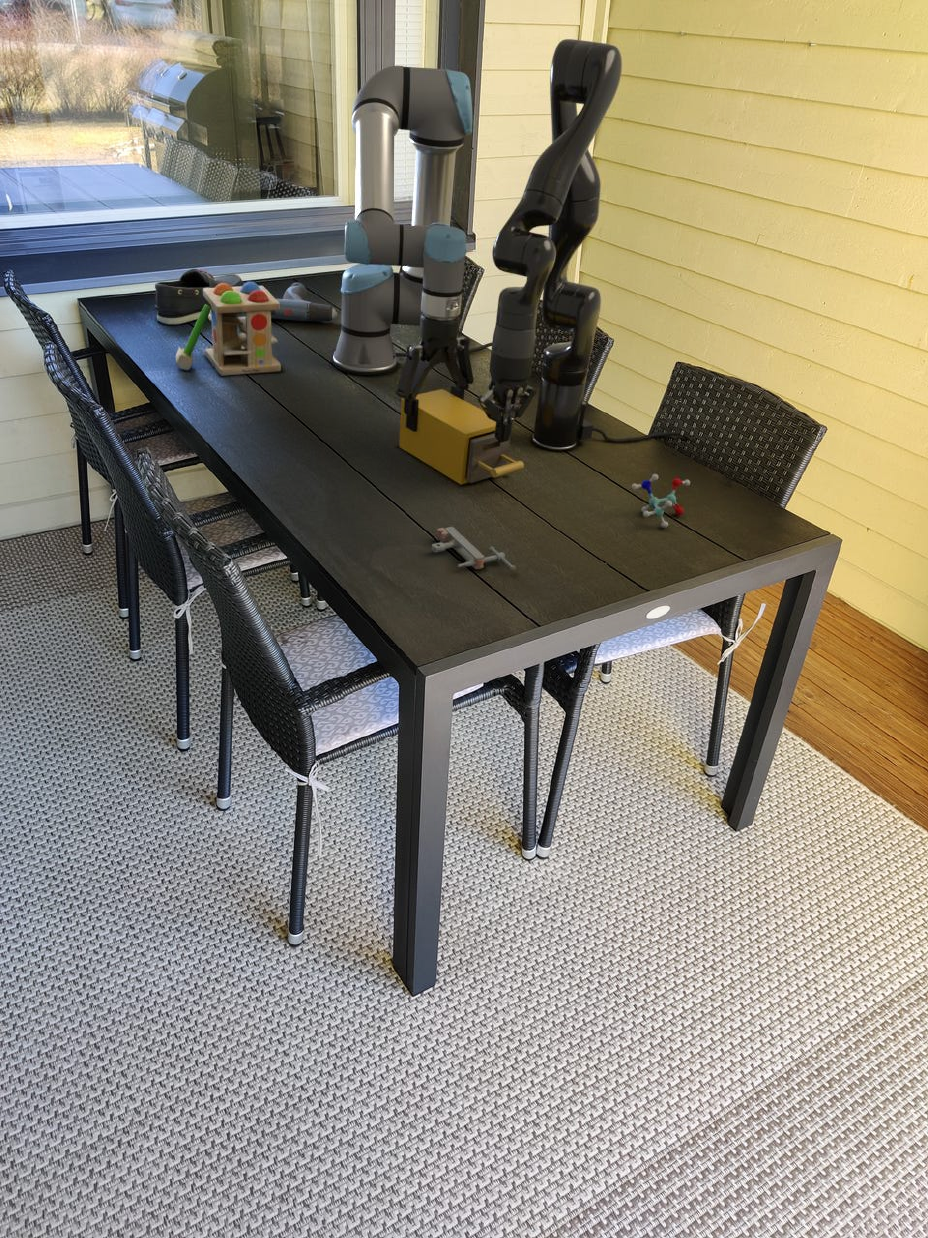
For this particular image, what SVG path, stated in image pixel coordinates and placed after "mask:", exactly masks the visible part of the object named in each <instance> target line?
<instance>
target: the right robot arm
mask: <svg viewBox="0 0 928 1238" xmlns="http://www.w3.org/2000/svg"><path fill="white" fill-rule="evenodd" d="M622 59H623V58H622V54H621V51H620V49H619V48H618V47H617V46H615V45H613V44H609V43H604V42H597V41H591V40H582V39H573V38H567V39H565V38H564V39H562V40H561V41H559V42H558V44H557V45H556V47H555V49H554V52H553V55H552V59H551V64H550V74H549V97H550V98H549V99H550V100H549V101H550V119H551V120H550V123H551V144H550V145H549V146H547V148H546V149H544V151H543V152H542V153H541V154H540V155H539V156H538V158H537V159H536V161H535V162H534V164H533V167H532V168H531V170H530V173H529V176H528V180H527V182H526V184H525V188H524V191H523V193H522V196H521V199H520V201H519V202H518V204H517V205H516V207H515V208H514V210H513V212H512V213H511V214H510V216H509V217H508V219H507V221H506V222H505V223H504V224H503V226H502V228H501V229H500V231H499V232H498V234H497V235H496V238H495V240H494V242H493V246H492V261H493V264H494V266H495V267H496V269H498V270H499V271H501V272H503V273H508V274H512V275H517V276H521V277H526V280H525V284H524V285H523V286H507V287H505V288H503V289H502V290H501V291H500V292H499V294H498V299H497V300H498V301H497V309H496V319H495V326H494V330H493V333H492V341H491V342H492V346H491V353H490V360H489V361H490V362H489V370H488V371H489V375H490V377H491V379H490V382H489V385H488V391H487V392H486V393H485V394H484V395H482V394H481V395H478V396H477V402H478V404H479V405H480V407H481V409H482V410H483V411H484V412H485V413H486V415H487V417H488V418H489V419H491V420H493V421H495V422H496V427H495V438H496V440H498V441H500V442H506V441H509V437H510V438H511V435H512V428H513V423H514V422H515V420H516V419H517V418H518V419H520V418H521V417H522V416H523V414H525V411H526V410H527V408H528V407H529V405H530V403H531V402H532V400H533V399H534V397H535V396H536V394H537V390H536V389H535V388H533V387H532V386H530V385H529V379H530V378H531V375H532V370H533V369H532V368H533V361H534V354H535V346H536V328H537V327H536V326H537V319H538V312H539V306H540V301H541V297H542V301H541V316H542V317H541V318H542V321H543V323H544V324H545V325H546V326H548V327H550V328H552V329H556V330H559V331H564V332H567V333H571V334H573V335H572V339H571V340H570V341H567V342H558V343H554V344H551V345H549V346H547V347H546V348H545V350H544V353H543V360H542V361H543V362H542V368H541V377H540V384H539V391H538V397H537V398H538V399H537V404H536V405H537V406H536V414H535V415H534V417H535V419H534V429H533V434H532V442H533V443H534V444H535V445H536V446H538V447H540V448H542V449H545V450H547V451H548V450H549V451H554V452H555V451H556V452H564V451H570V450H572V449H575V448H576V446H580V444H581V441H583V440H589V439H592V435H593V432H596V433H598V434H601V436H602V437H603V439H605V440H606V441H607V442H608V441H609V442H611V443H615V444H616V443H618V444H621V443H629V442H637V441H644V440H647V439H651V438H657V437H658V438H659V437H660V438H661V437H669V436H680V437H683V438H685V439H686V440H687V441H688V442H692V441H693V439H692V438H691V437H690V435H688V436H681V435H680V434H679V432H680V431H668V432H655V433H650V434H646V435H642V436H636V437H635V436H634V437H627V438H613V437H609V436H608V435H607V434H606V431H604V430H602V429H601V428H598V427H595V426H594V424H593V423H592V422H589V421H588V420H586V419H585V414H586V408H587V402H586V401H585V400H584V397H585V390H586V384H587V383H586V382H587V377H588V371H589V365H590V359H591V355H592V351H593V347H594V342H595V336H596V331H597V327H598V323H599V318H600V315H601V314H600V313H601V306H602V295H601V291H600V290H599V288H596V287H594V286H591V285H586V284H582V283H577V282H572V281H569V280H568V270H569V266H570V262H571V260H572V259H573V256H574V255H575V253H576V252H577V250H578V249H579V248H580V246H581V245H582V244H583V243H584V242H585V240H586V239H587V238H588V237H589V235H590V234H591V232H592V231H593V229H594V228H595V226H596V224H597V222H598V220H599V215H600V204H601V203H600V202H601V189H602V188H601V187H602V183H601V177H600V173H599V170H598V167H597V165H596V163H595V161H594V158H593V157H592V154H591V152H590V150H589V148H590V145H591V143H592V142H593V140H594V138H595V136H596V134H597V132H598V130H599V128H600V127H601V124H602V122H603V120H604V118H605V117H606V115H607V113H608V111H609V109H610V107H611V104H612V103H613V100H614V99H615V96H616V95H617V92H618V88H619V85H620V82H621V78H622V71H623V60H622ZM577 105H582V108H581V109H580V111H579V112H578V106H577ZM547 226H548V235H545V234H542V233H535V232H531V231H532V230H533V229H534V228H538V227H547ZM509 442H510V441H509Z"/></svg>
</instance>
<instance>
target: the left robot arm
mask: <svg viewBox="0 0 928 1238" xmlns="http://www.w3.org/2000/svg"><path fill="white" fill-rule="evenodd" d="M472 101H473V100H472V89H471V82H470V79H469V77H468V75H467V74H466V73H465V72H462V71H457V70H452V69H448V68H433V67H419V66H418V67H417V66H404V65H391V66H387V67H384V68H382V69H380V70H378V71H377V72H375V73H374V74H372V75H371V76H370V77H369V78H368V79H367V80H366V81H365V82H364V84H363V85H362V86H361V88H360V89H359V91H358V93H357V94H356V97H355V100H354V101H353V106H352V110H351V127H352V130H353V132H354V133H355V135H356V144H355V145H356V147H355V148H356V149H355V151H356V152H355V153H356V154H355V157H356V158H355V204H354V205H355V208H354V220H349V221H347V222H346V223H345V226H344V258H345V260H346V261H347V262H349V263H352V264H355V265H352V266H351V267H348V268H346V269H345V271H344V272H343V274H342V281H341V287H340V293H341V319H340V321H341V324H340V325H341V326H340V329H341V330H340V336H339V338H338V341H337V344H336V346H335V347H334V348H333V351H332V353H333V361H332V362H333V363H332V364H333V366H334V367H335V368H337V369H338V370H339V371H342V372H344V373H347V374H352V375H356V376H380V375H381V376H382V375H386V374H389V373H391V372H393V371H395V369H396V368H397V361H398V359H397V357H398V358H405V360H404V361H405V362H404V365H403V367H402V372H401V374H400V379H399V381H398V385H397V388H396V392H395V394H396V395H397V396H398V397H400V398H401V399H402V398H404V399H405V403H404V412H405V414H406V428H408V429H410V430H412V431H413V432H416V431H417V422H418V405H419V400H418V399H416V396H417V395H418V394H419V392H420V391H421V389H422V386H423V385H424V383H425V380H426V379H427V377H428V375H429V373H430V371H432V370H433V368H434V367H435V366H437V365H439V364H445V367H446V369H447V371H448V373H449V375H450V377H451V379H452V381H453V384H454V385H450V393H451V394H453V395H454V396H456V397H458V398H460V399H462V400H464V401H465V391H468V390H469V388H470V385H472V384H473V383H474V382H475V381H474V376H473V369H472V368H473V367H472V364H471V357H470V354H471V353H475V352H479V351H483V350H484V349H487V348H490V347H492V341H491V342H488V343H485V344H483V345H480V346H477V347H472V348H470V339H469V338H467V337H465V336H463V335H460V328H461V327H460V325H461V318H460V315H461V312H462V310H461V309H462V301H463V300H462V299H463V284H464V273H465V263H466V262H465V261H466V255H467V235H466V232H465V231H464V230H463V229H461V228H458V227H456V226H451V214H452V201H453V190H454V180H455V179H454V177H455V166H456V165H455V164H456V154H457V151H459V149H460V148H461V147H463V146H464V143H465V137H469V136H470V135H472V132H473V104H472ZM399 130H401V131H409V136H408V140H409V141H410V143H411V144H412V145H413V146H414V148H415V155H414V156H415V157H414V172H413V173H414V175H413V190H412V191H413V193H412V197H413V198H412V211H411V212H412V213H411V224H399V223H398V224H397V223H395V136H396V135H397V134H398V132H399ZM393 267H402V268H401V269H402V270H401V271H402V272H394V268H393ZM391 325H397V326H398V325H401V326H416V327H419V333H420V336H421V340H420V342H419V344H418V345H415V346H413V345H411V344H409V345H407V347H406V352H395V347H394V343H393V341H392V337H391V336H392V335H391ZM456 356H457V357H456Z"/></svg>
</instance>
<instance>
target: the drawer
mask: <svg viewBox="0 0 928 1238" xmlns="http://www.w3.org/2000/svg"><path fill="white" fill-rule="evenodd" d="M510 441H511V436H510V437H509V441H506V442H500V441H498V440H496V438H495V431H492V432H489V433H485V434H481V435H478V436H474V437H470V438H469V443H468V454H467V465H466V474H467V480H466V481H467V482H468V483H469V484H473V483H477V482H479V481H482V480H486V479H489V478H494V479H496V478H498V477H503V476H505V475H509V474H511V473H512V474H513V473H515V472H518V471H521V470H524V468H525V464H524V462H523V461H522V460H517V461H516V460H514V459H512V458H511V457H509V448H510Z"/></svg>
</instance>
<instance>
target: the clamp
mask: <svg viewBox="0 0 928 1238" xmlns="http://www.w3.org/2000/svg"><path fill="white" fill-rule="evenodd" d="M436 541H439V542H436V543H432V544H431V551H432V552H433V553H435V554H437V553H441V552H445V551H446V550H447V549H451V548H453V549H454V550H455V551H456V552H457V553H458V554H459V555H460V556H461V557H462V558H463V559H464V560H465V562H462V563H459V564H457V567H458V568H462V567H472V568H473V569H475V570H480V569H483V568H484V563H488V562H492V561H496V562H499V561H502V562H503V563H504V564H505V565H506V566H507V567H508V568H509V569H510V571H511V572H514V571H515V570H516V568H517V567H516V565H514V564H511V563H510V562H509V561H508V560H507V559H506V554H505V552H503V551H501V552H498V551H497V550H495V547H494V546H490V547H489V549H488V551H489V552H490V553H493V554H494V555H491V556H486V557H485V556H484V554H482V553H481V551H479V550H478V549H477V548H476V547H475V546H474V545H473V544H472V543H471V542H470V541H469V540H467V538H466V537H464V535H462V534H461V533H460V532H459V531H458V530H457V529H456V528H455V527H454V526H448V527H445V528H444V527H440V528H437V529H436Z"/></svg>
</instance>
